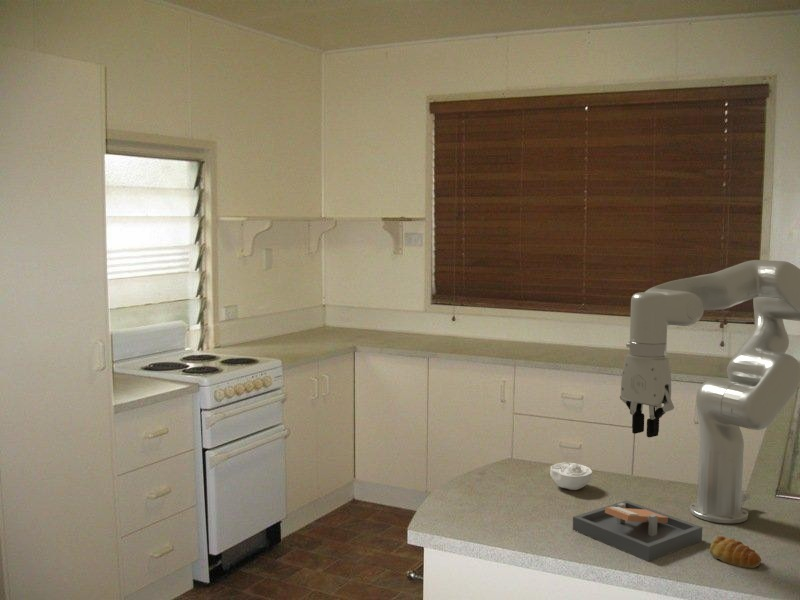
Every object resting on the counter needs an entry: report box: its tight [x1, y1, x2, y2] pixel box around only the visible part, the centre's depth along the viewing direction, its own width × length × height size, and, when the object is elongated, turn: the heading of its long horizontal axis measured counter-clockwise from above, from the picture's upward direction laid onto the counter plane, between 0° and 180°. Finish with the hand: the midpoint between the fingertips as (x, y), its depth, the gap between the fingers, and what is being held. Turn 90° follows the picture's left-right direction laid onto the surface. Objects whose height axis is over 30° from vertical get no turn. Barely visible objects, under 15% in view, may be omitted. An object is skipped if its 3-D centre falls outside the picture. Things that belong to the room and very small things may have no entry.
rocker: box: [605, 506, 668, 523], centre depth 169 cm, size 14×7×2 cm, turn 125°
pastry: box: [708, 535, 762, 569], centre depth 157 cm, size 9×7×4 cm
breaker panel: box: [572, 500, 703, 562], centre depth 169 cm, size 18×20×6 cm
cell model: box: [549, 461, 593, 491], centre depth 201 cm, size 10×12×7 cm
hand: (645, 433), depth 169 cm, fingers open, 3 cm apart
